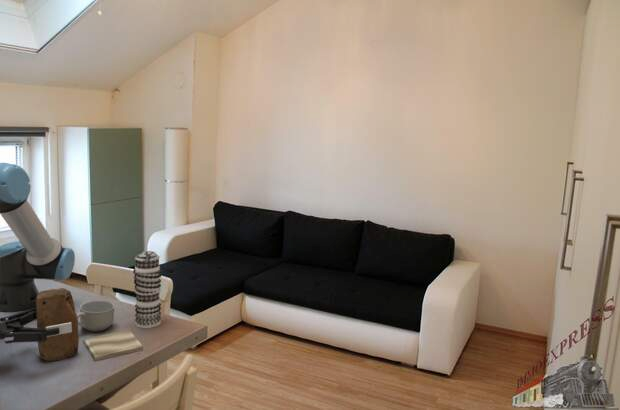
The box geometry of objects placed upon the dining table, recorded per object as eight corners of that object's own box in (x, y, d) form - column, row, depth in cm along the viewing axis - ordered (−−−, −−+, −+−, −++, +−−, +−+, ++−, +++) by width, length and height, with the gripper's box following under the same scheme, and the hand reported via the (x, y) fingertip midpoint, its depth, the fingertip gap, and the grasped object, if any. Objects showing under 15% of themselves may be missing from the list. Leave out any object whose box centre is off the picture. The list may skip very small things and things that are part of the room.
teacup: (104, 318, 182) (103, 297, 180) (121, 327, 175) (120, 305, 174) (64, 330, 171) (63, 307, 170) (81, 340, 164) (80, 316, 163)
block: (38, 364, 149) (34, 297, 145) (38, 353, 155) (35, 289, 152) (79, 357, 153) (77, 292, 150) (78, 347, 160) (75, 284, 156)
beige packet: (83, 342, 163) (83, 338, 163) (129, 333, 171) (129, 329, 171) (95, 360, 152) (95, 356, 152) (143, 349, 160) (143, 345, 160)
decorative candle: (146, 330, 173) (145, 258, 169) (128, 323, 178) (126, 253, 174) (167, 322, 181) (167, 252, 177) (149, 315, 186) (148, 248, 181)
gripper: (-21, 330, 152) (59, 316, 164) (-14, 366, 132) (76, 347, 144) (-23, 306, 151) (57, 293, 163) (-16, 338, 131) (75, 321, 143)
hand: (66, 318), depth 154 cm, fingers open, 13 cm apart
